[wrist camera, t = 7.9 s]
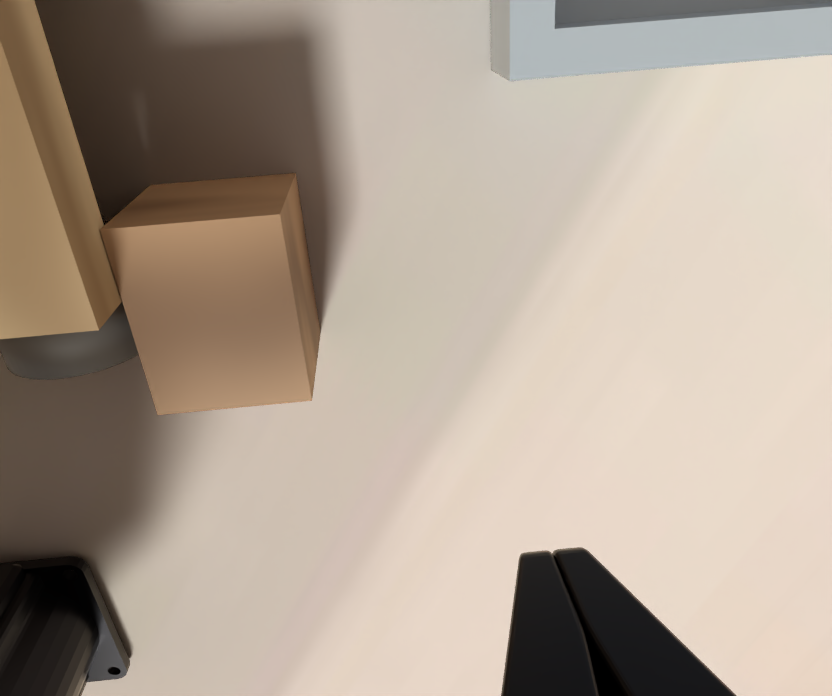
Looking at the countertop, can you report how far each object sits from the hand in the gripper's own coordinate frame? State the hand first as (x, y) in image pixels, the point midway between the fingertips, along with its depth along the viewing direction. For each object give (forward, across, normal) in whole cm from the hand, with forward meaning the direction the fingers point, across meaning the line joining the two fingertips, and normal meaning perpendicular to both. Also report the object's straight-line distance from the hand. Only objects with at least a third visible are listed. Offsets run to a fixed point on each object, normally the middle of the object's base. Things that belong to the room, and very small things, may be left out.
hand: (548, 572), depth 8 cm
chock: (+12, +6, 0) cm, 14 cm away
